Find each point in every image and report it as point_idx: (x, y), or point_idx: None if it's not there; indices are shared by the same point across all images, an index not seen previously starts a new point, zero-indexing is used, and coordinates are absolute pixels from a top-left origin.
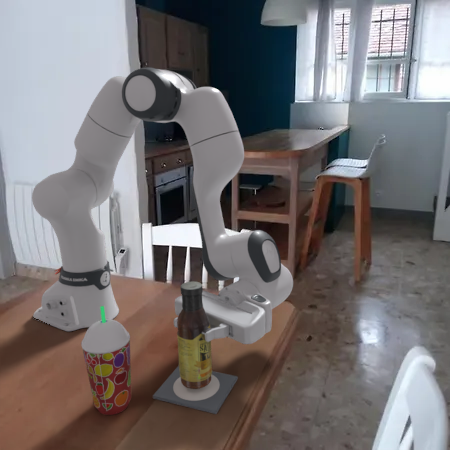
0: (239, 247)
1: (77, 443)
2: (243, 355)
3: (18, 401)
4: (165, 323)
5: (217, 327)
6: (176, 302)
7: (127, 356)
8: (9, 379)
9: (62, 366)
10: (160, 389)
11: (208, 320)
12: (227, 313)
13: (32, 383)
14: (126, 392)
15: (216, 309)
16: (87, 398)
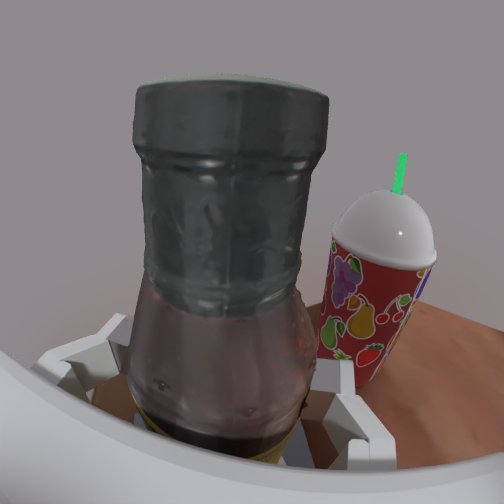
0: None
1: (312, 307)
2: None
3: (439, 316)
4: None
5: (78, 348)
6: (489, 454)
7: (334, 277)
8: (485, 328)
9: (489, 375)
10: (298, 430)
11: (130, 365)
12: (20, 439)
13: (467, 338)
14: (317, 340)
15: (111, 495)
16: (391, 358)
